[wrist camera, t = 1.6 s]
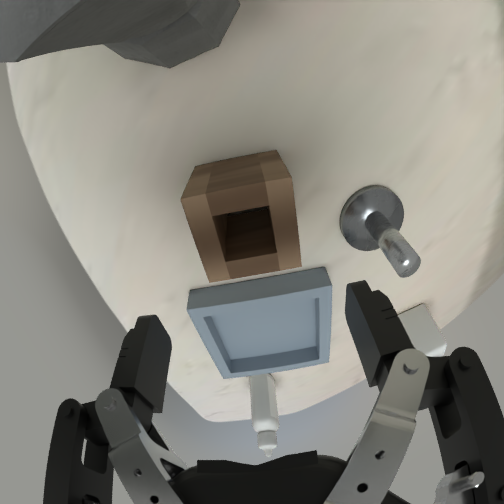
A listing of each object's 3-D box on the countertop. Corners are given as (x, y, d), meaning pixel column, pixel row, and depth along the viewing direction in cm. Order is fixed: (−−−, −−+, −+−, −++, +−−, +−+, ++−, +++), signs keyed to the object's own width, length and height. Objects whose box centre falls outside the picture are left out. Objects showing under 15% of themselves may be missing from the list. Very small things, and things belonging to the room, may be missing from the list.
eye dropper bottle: (283, 372, 36) (293, 450, 26) (270, 389, 39) (277, 460, 29) (253, 369, 35) (258, 451, 25) (242, 387, 38) (245, 460, 28)
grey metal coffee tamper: (338, 190, 21) (375, 236, 15) (401, 182, 20) (449, 222, 15) (340, 251, 24) (367, 305, 19) (396, 240, 24) (432, 288, 18)
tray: (189, 290, 26) (186, 309, 24) (324, 266, 25) (332, 285, 23) (223, 361, 33) (223, 378, 31) (324, 345, 33) (328, 362, 30)
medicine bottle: (378, 350, 35) (403, 421, 25) (375, 323, 31) (409, 405, 21) (420, 331, 34) (452, 398, 24) (424, 301, 30) (465, 376, 20)
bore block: (195, 166, 19) (180, 199, 14) (276, 150, 19) (291, 177, 14) (214, 234, 23) (209, 282, 18) (287, 221, 22) (301, 266, 17)
